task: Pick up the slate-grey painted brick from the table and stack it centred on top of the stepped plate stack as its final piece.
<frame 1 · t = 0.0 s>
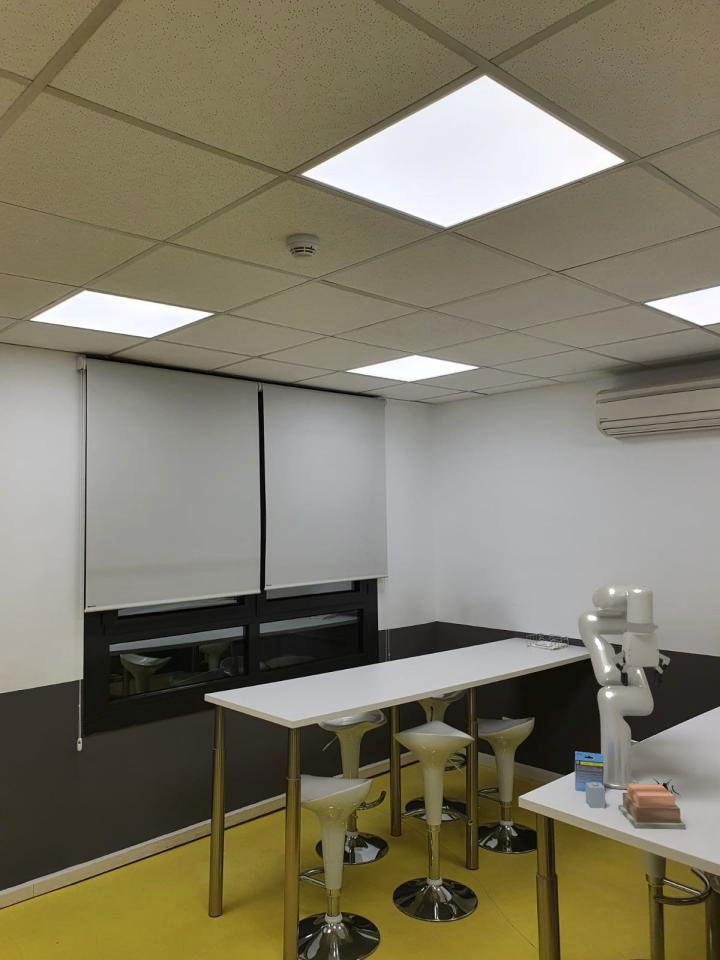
hand: (641, 685, 221), 37 cm above the table, tool pointing down, fingers open, 9 cm apart
slate brick: (595, 805, 222), on the table
label tape box: (589, 790, 235), on the table
stepped plate stack: (650, 818, 212), on the table
creature: (667, 798, 229), on the table
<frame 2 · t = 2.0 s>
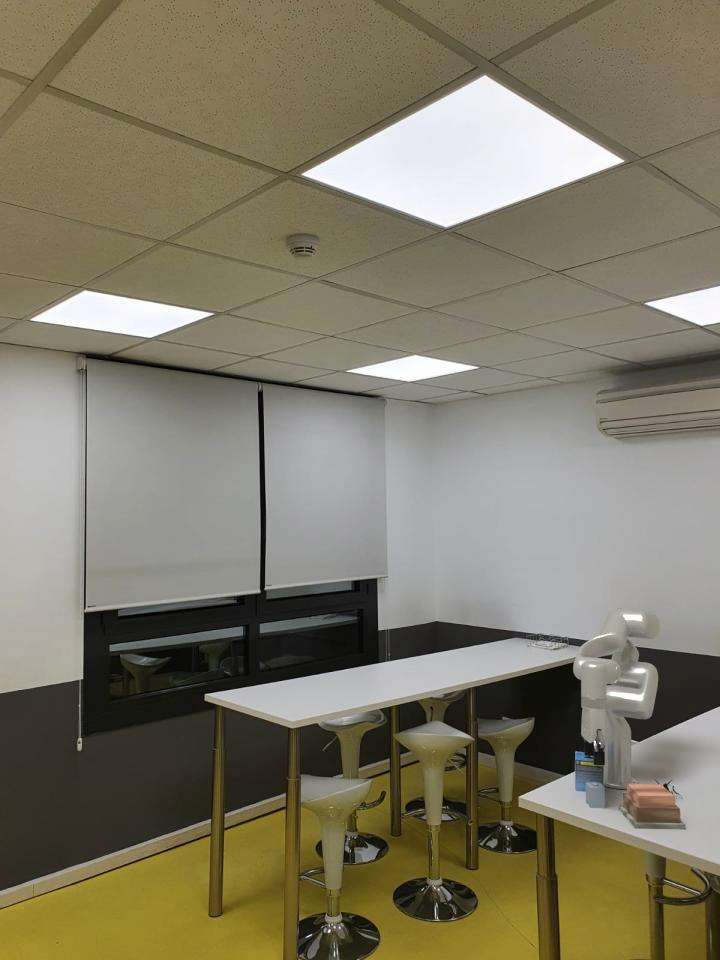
hand: (594, 760, 223), 13 cm above the table, tool pointing down, fingers open, 9 cm apart
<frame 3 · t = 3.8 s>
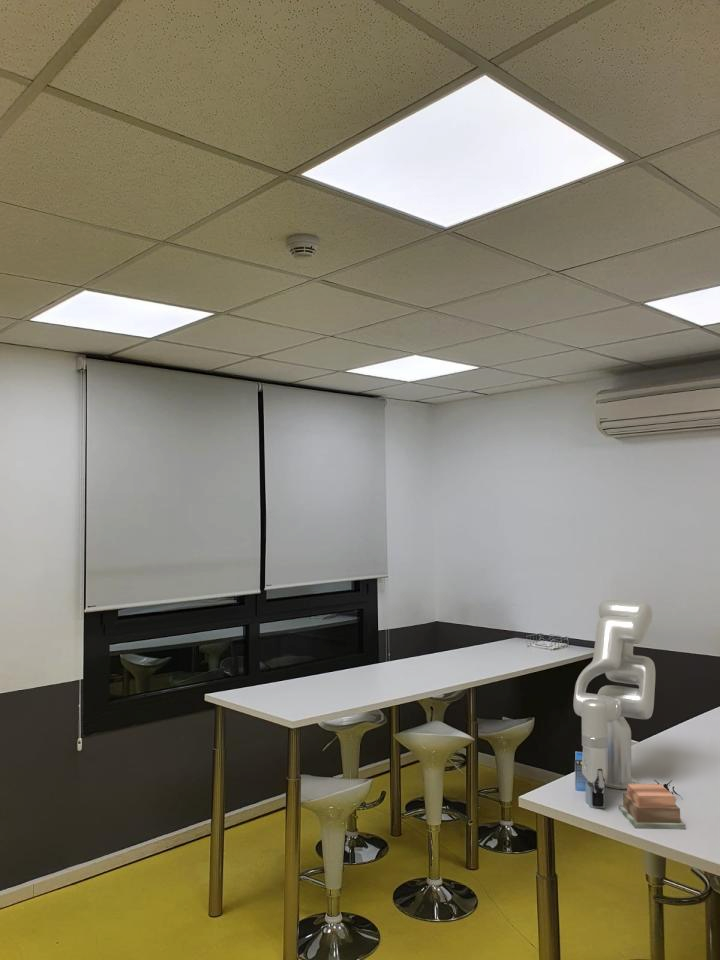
hand: (595, 802, 222), 1 cm above the table, tool pointing down, fingers closed on slate brick, 4 cm apart
slate brick: (595, 805, 222), on the table, touching gripper
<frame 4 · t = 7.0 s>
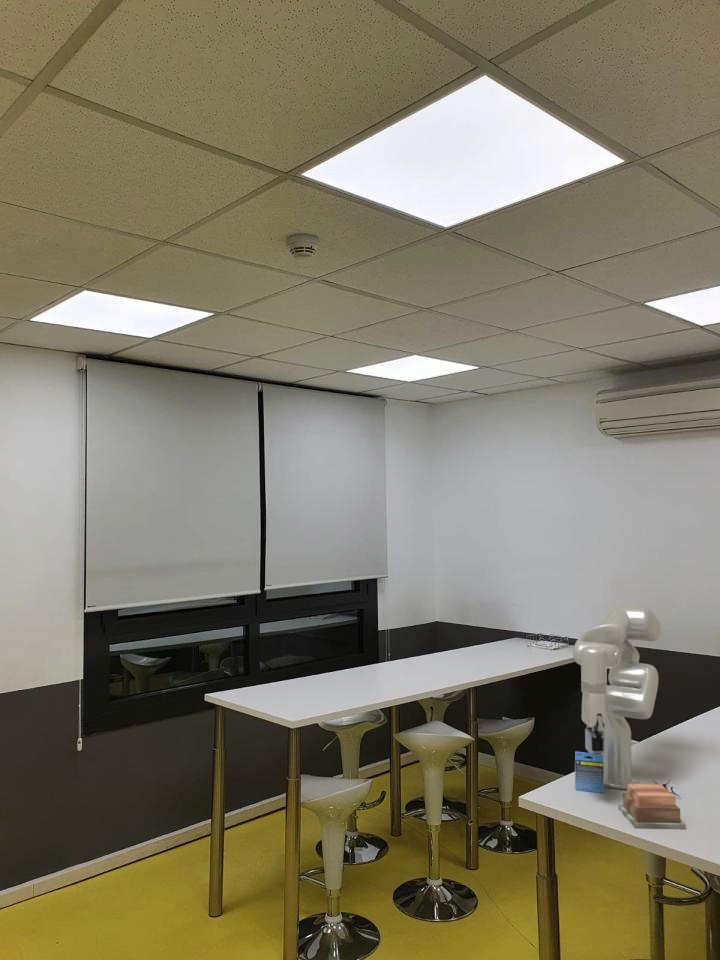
hand: (594, 747, 223), 17 cm above the table, tool pointing down, fingers closed on slate brick, 4 cm apart
slate brick: (594, 750, 223), point 16 cm above the table, touching gripper
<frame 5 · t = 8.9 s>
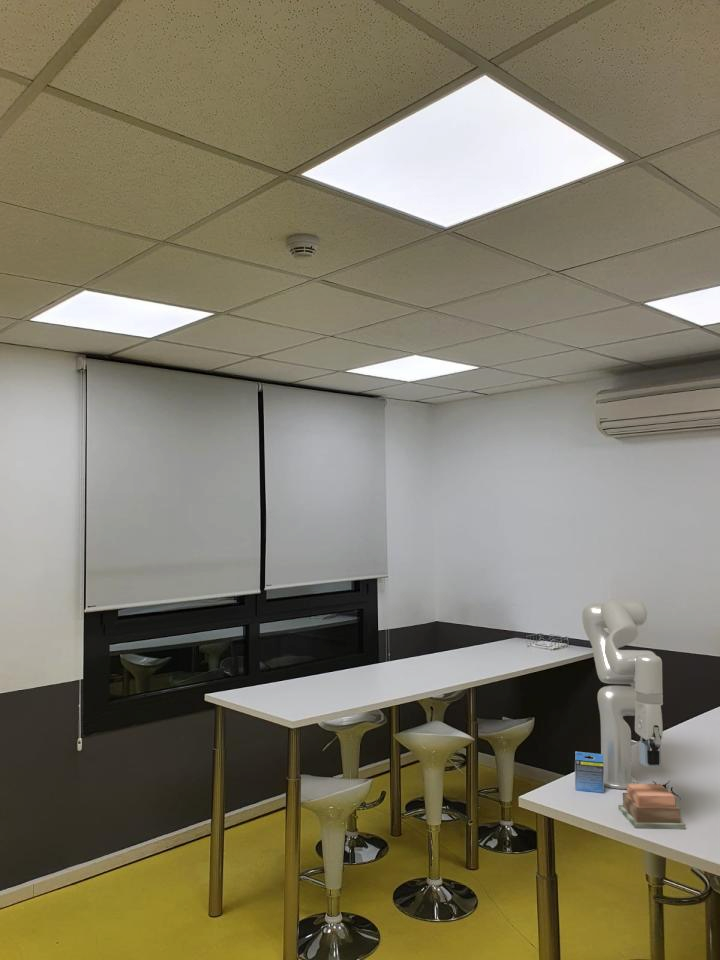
hand: (650, 760, 213), 16 cm above the table, tool pointing down, fingers closed on slate brick, 4 cm apart
slate brick: (649, 764, 213), point 16 cm above the table, touching gripper
when the fingers open (10 cm above the table, at t = 10.4 s): slate brick drops 1 cm, resting on stepped plate stack.
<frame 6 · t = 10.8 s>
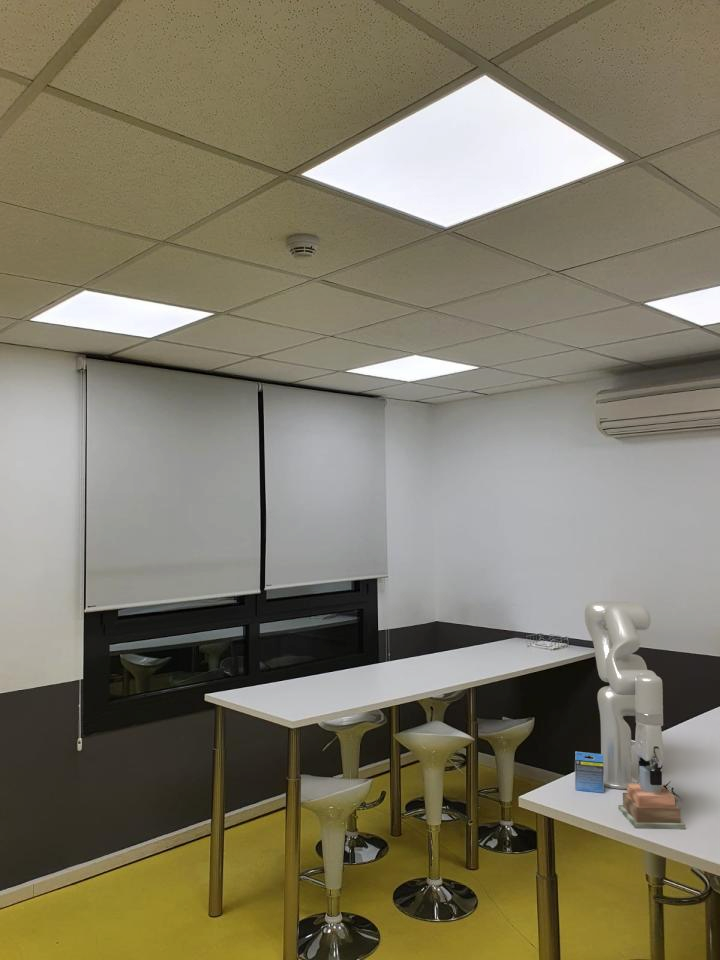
hand: (650, 779, 213), 11 cm above the table, tool pointing down, fingers open, 8 cm apart
slate brick: (650, 789, 212), point 8 cm above the table, touching stepped plate stack
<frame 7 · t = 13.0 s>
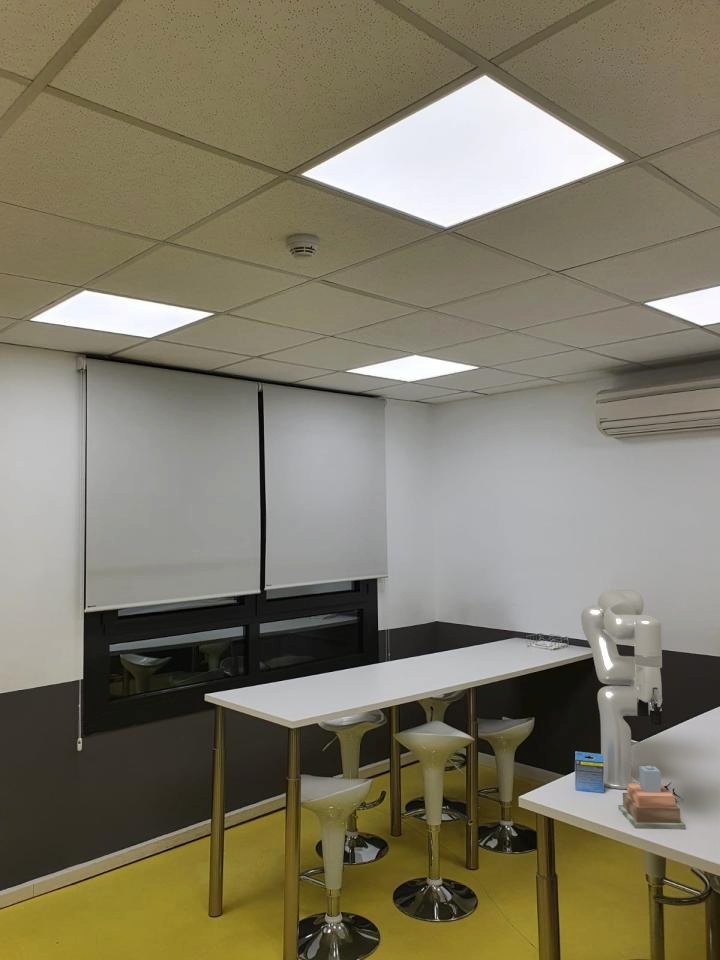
hand: (649, 720, 214), 28 cm above the table, tool pointing down, fingers open, 9 cm apart
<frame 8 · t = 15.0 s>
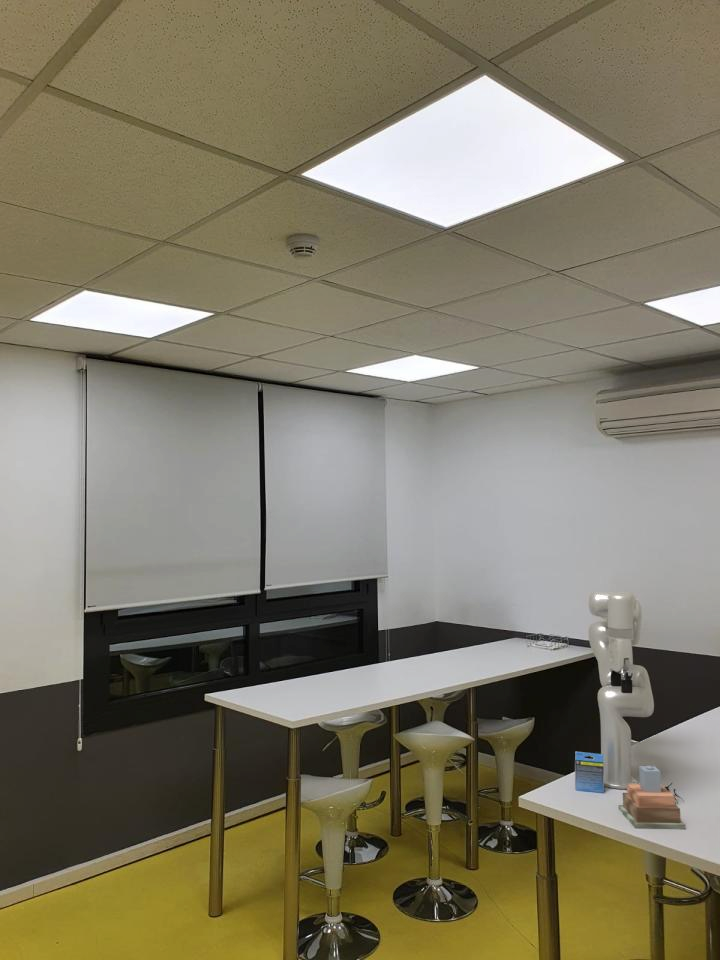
hand: (621, 689, 226), 34 cm above the table, tool pointing down, fingers open, 9 cm apart
at the end: slate brick 0.0 cm off-centre on the stepped plate stack, point 8.2 cm above the stepped plate stack's base; slate brick tilted 0°; the gripper is holding nothing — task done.
